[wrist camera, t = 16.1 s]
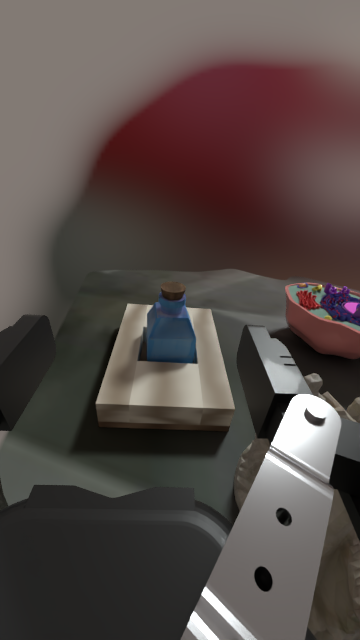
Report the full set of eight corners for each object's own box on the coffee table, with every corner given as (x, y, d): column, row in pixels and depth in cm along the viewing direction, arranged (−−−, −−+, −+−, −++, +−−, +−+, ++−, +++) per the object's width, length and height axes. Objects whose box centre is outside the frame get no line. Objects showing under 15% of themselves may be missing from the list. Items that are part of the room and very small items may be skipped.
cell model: (304, 309, 58) (323, 262, 52) (403, 362, 44) (444, 306, 38) (252, 327, 50) (268, 273, 44) (355, 398, 36) (398, 333, 30)
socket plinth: (207, 327, 48) (210, 309, 46) (228, 431, 30) (235, 409, 28) (128, 322, 47) (127, 303, 45) (98, 426, 29) (95, 403, 27)
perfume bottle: (191, 373, 36) (202, 298, 30) (147, 375, 35) (149, 297, 29) (184, 346, 41) (193, 277, 35) (146, 347, 40) (147, 276, 34)
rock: (272, 670, 16) (418, 588, 8) (219, 434, 30) (257, 327, 23) (481, 652, 18) (748, 573, 10) (339, 439, 32) (409, 342, 25)
